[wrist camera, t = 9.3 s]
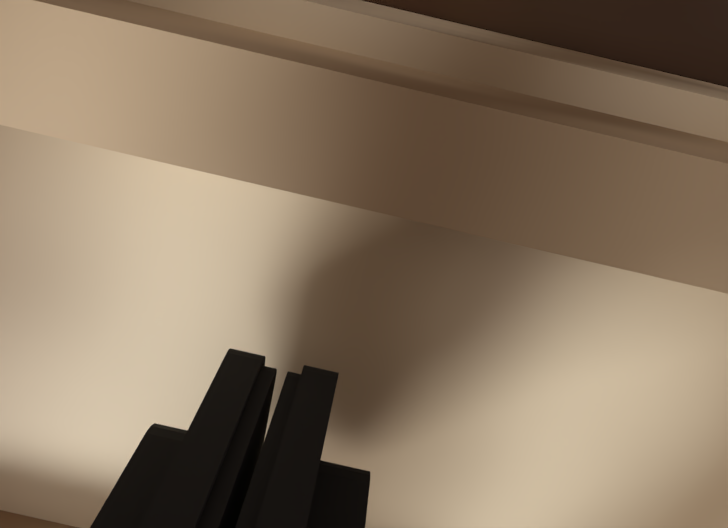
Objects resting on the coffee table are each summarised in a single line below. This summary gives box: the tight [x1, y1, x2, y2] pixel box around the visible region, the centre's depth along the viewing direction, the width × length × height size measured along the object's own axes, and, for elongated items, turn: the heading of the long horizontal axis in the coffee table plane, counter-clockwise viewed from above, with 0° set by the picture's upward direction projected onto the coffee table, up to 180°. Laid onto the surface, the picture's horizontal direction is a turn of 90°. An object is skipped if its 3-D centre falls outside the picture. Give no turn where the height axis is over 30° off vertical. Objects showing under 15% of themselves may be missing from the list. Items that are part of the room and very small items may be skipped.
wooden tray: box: [0, 0, 728, 528], centre depth 12 cm, size 15×12×4 cm
